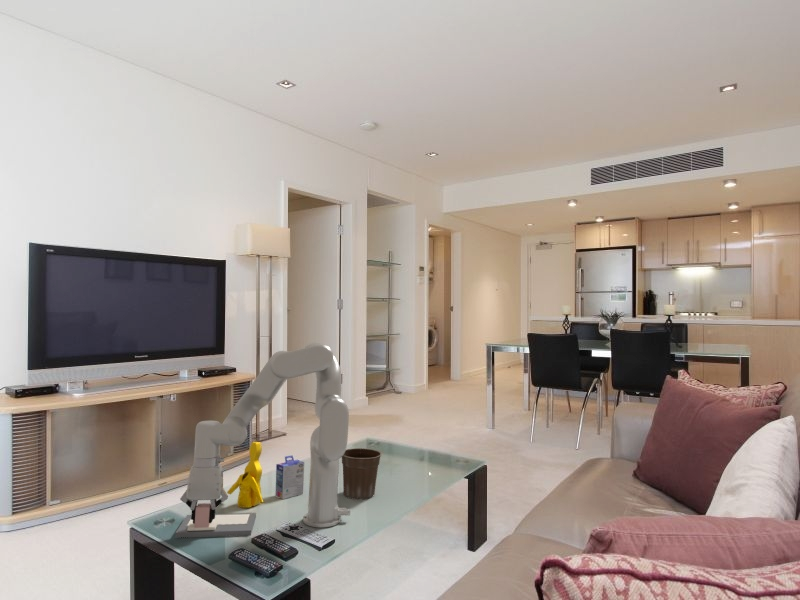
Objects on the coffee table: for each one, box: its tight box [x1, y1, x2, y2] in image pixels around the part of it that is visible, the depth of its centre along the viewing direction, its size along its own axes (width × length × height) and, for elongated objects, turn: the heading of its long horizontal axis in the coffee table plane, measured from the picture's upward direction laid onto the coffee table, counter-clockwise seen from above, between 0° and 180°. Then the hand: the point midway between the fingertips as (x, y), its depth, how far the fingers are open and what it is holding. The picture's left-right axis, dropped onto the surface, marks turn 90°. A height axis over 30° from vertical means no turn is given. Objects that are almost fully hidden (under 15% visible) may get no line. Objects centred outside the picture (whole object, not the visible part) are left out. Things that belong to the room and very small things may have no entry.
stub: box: [187, 502, 218, 531], centre depth 151 cm, size 8×4×7 cm, turn 100°
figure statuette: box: [226, 441, 264, 509], centre depth 177 cm, size 18×8×22 cm, turn 60°
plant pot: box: [341, 447, 382, 500], centre depth 192 cm, size 16×16×16 cm
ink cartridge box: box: [275, 455, 305, 500], centre depth 189 cm, size 10×6×14 cm, turn 137°
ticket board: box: [174, 512, 257, 539], centre depth 156 cm, size 22×14×2 cm, turn 100°
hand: (203, 521), depth 151 cm, fingers closed on stub, 4 cm apart
